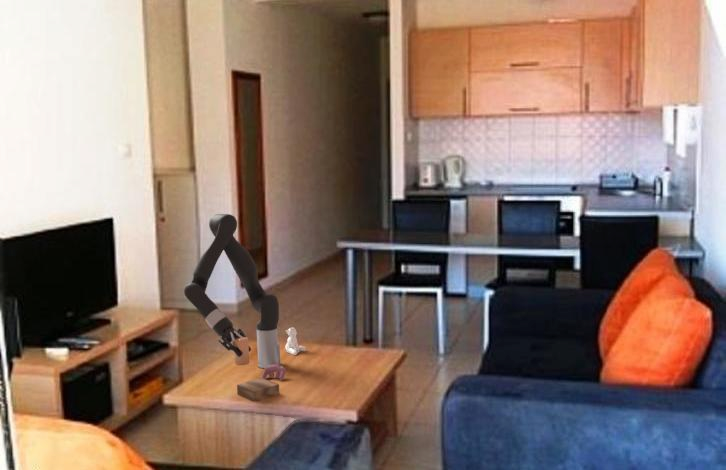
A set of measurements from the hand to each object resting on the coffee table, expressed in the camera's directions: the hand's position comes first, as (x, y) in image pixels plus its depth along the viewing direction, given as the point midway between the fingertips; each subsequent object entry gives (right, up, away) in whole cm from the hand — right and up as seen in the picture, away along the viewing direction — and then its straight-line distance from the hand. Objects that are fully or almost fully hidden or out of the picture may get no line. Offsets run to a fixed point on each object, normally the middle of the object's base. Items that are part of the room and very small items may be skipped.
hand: (245, 353), depth 304 cm
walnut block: (+5, -16, -1) cm, 17 cm away
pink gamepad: (+10, -14, +18) cm, 24 cm away
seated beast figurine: (+14, -9, +56) cm, 59 cm away
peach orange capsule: (-2, -4, +1) cm, 5 cm away
